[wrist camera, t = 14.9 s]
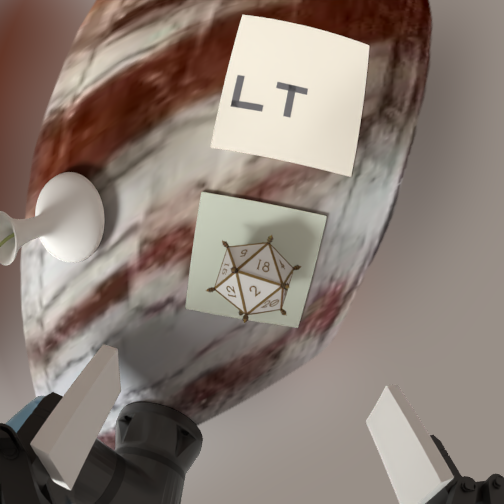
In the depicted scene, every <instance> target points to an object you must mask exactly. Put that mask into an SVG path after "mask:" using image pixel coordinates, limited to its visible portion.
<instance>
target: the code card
mask: <svg viewBox="0 0 504 504" xmlns="http://www.w3.org/2000/svg"><path fill="white" fill-rule="evenodd" d="M368 57H369V45H367V44H364V43H361V42H358V41H355V40H352V39H350V38H346V37H343V36H340V35H337V34H334V33H330V32H327V31H323V30H320V29H316V28H312V27H308V26H304V25H299V24H295V23H290V22H285V21H280V20H275V19H269V18H263V17H256V16H249V15H242V18H241V22H240V25H239V29H238V32H237V36H236V40H235V43H234V47H233V51H232V55H231V59H230V62H229V66H228V70H227V74H226V79H225V83H224V87H223V91H222V95H221V100H220V104H219V109H218V113H217V118H216V122H215V127H214V132H213V137H212V142H211V148H217V149H223V150H230V151H235V152H241V153H247V154H252V155H258V156H263V157H268V158H273V159H278V160H282V161H287V162H292V163H296V164H301V165H305V166H309V167H313V168H317V169H322V170H326V171H329V172H333V173H337V174H341V175H345V176H348V177H351V175H352V170H353V164H354V159H355V153H356V148H357V142H358V136H359V129H360V123H361V116H362V109H363V102H364V94H365V86H366V77H367V68H368Z"/></svg>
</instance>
